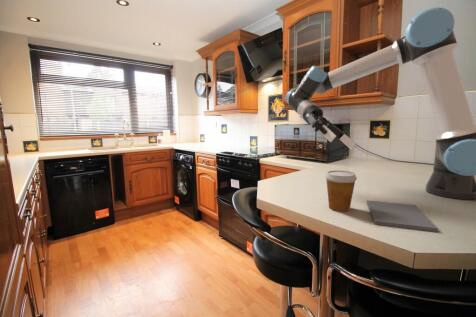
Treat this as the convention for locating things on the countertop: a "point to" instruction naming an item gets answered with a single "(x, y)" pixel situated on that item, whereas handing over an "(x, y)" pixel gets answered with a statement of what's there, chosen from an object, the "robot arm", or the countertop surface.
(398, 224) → the drip mat
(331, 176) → the disposable coffee cup
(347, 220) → the countertop surface
